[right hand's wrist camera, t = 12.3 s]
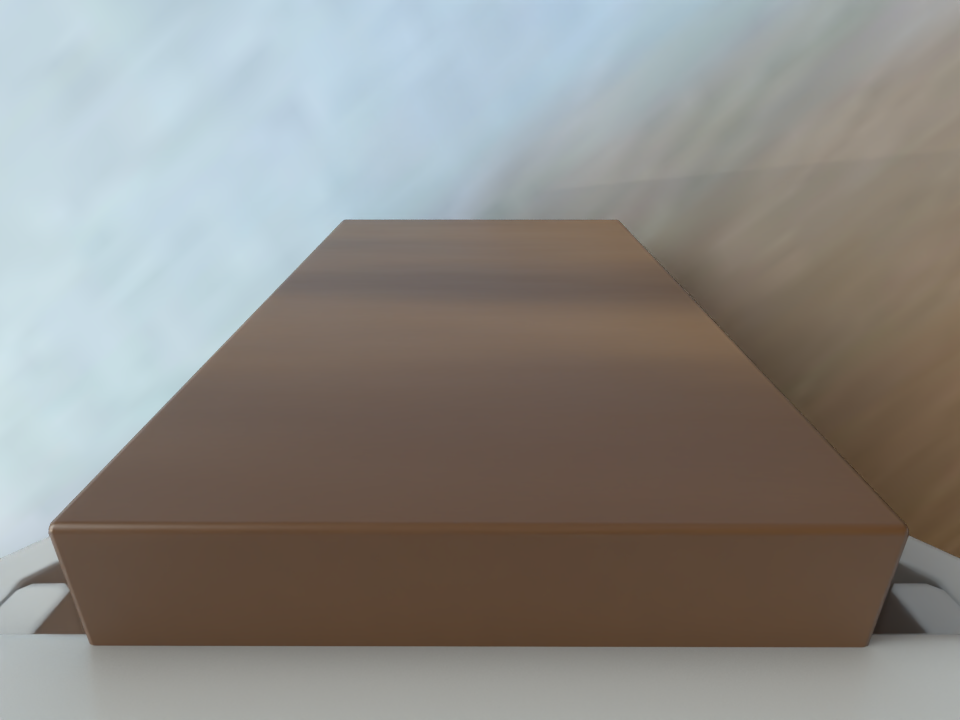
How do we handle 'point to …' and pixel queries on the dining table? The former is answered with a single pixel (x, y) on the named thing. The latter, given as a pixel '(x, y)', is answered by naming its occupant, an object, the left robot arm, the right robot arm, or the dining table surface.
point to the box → (479, 466)
